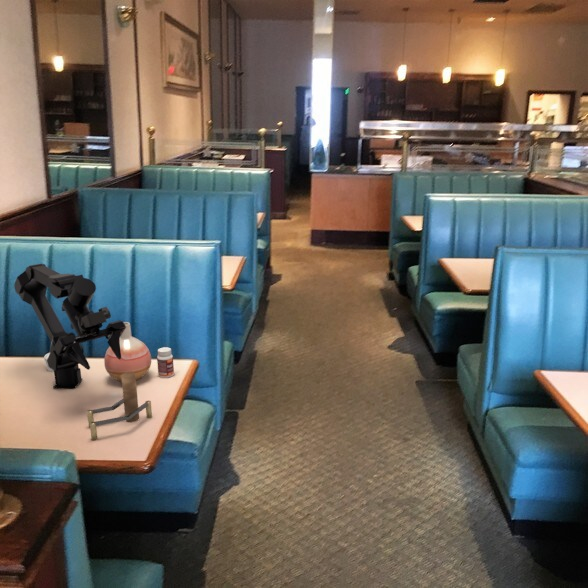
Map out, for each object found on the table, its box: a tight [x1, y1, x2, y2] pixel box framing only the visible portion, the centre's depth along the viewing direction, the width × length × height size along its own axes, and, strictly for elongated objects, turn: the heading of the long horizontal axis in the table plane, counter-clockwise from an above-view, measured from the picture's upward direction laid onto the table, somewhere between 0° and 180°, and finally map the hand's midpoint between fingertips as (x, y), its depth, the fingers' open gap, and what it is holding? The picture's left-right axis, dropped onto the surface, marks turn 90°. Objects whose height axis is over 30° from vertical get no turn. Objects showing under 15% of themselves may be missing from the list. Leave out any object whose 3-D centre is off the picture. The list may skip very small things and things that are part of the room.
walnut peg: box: [121, 372, 140, 423], centre depth 162 cm, size 4×4×12 cm
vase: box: [103, 321, 152, 383], centre depth 186 cm, size 14×14×18 cm
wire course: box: [86, 398, 153, 441], centre depth 160 cm, size 15×16×4 cm
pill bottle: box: [156, 346, 175, 379], centre depth 190 cm, size 5×5×8 cm
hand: (105, 363), depth 165 cm, fingers open, 9 cm apart
